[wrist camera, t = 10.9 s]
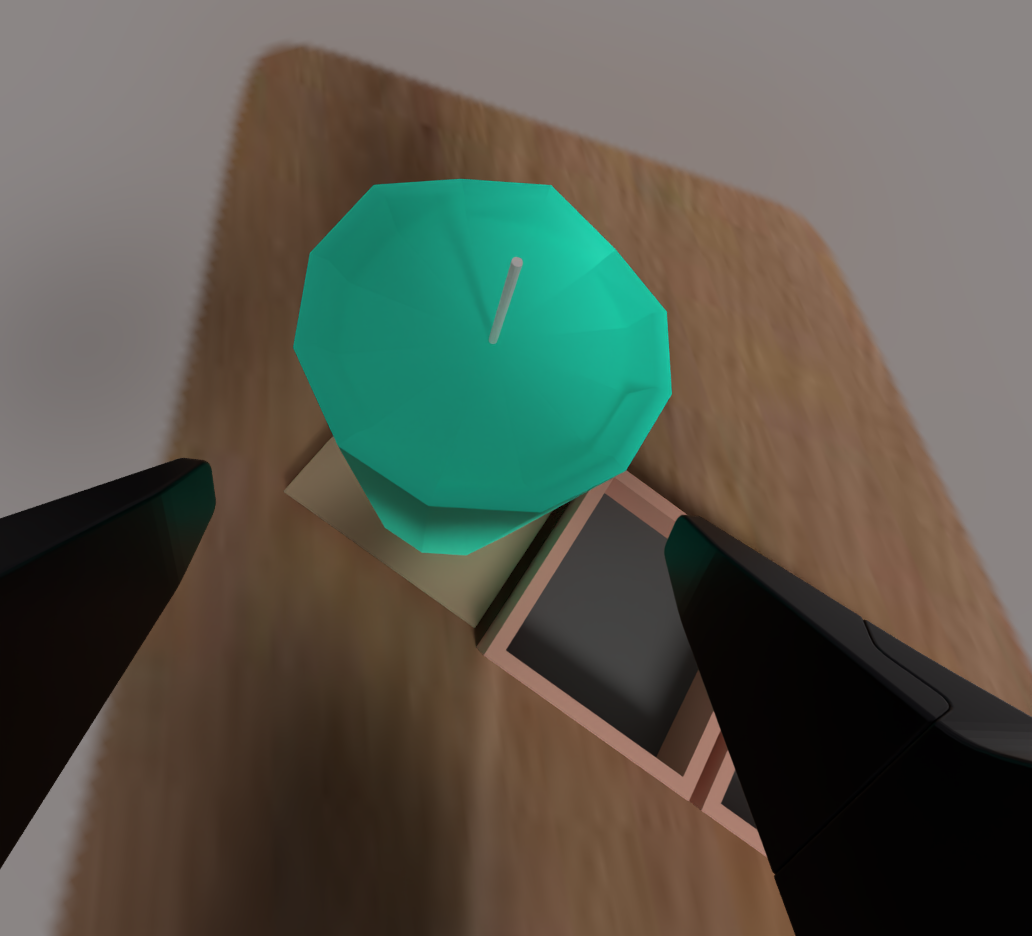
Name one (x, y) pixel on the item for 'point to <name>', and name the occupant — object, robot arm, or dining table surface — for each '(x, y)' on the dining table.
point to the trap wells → (620, 646)
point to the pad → (441, 576)
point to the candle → (478, 356)
